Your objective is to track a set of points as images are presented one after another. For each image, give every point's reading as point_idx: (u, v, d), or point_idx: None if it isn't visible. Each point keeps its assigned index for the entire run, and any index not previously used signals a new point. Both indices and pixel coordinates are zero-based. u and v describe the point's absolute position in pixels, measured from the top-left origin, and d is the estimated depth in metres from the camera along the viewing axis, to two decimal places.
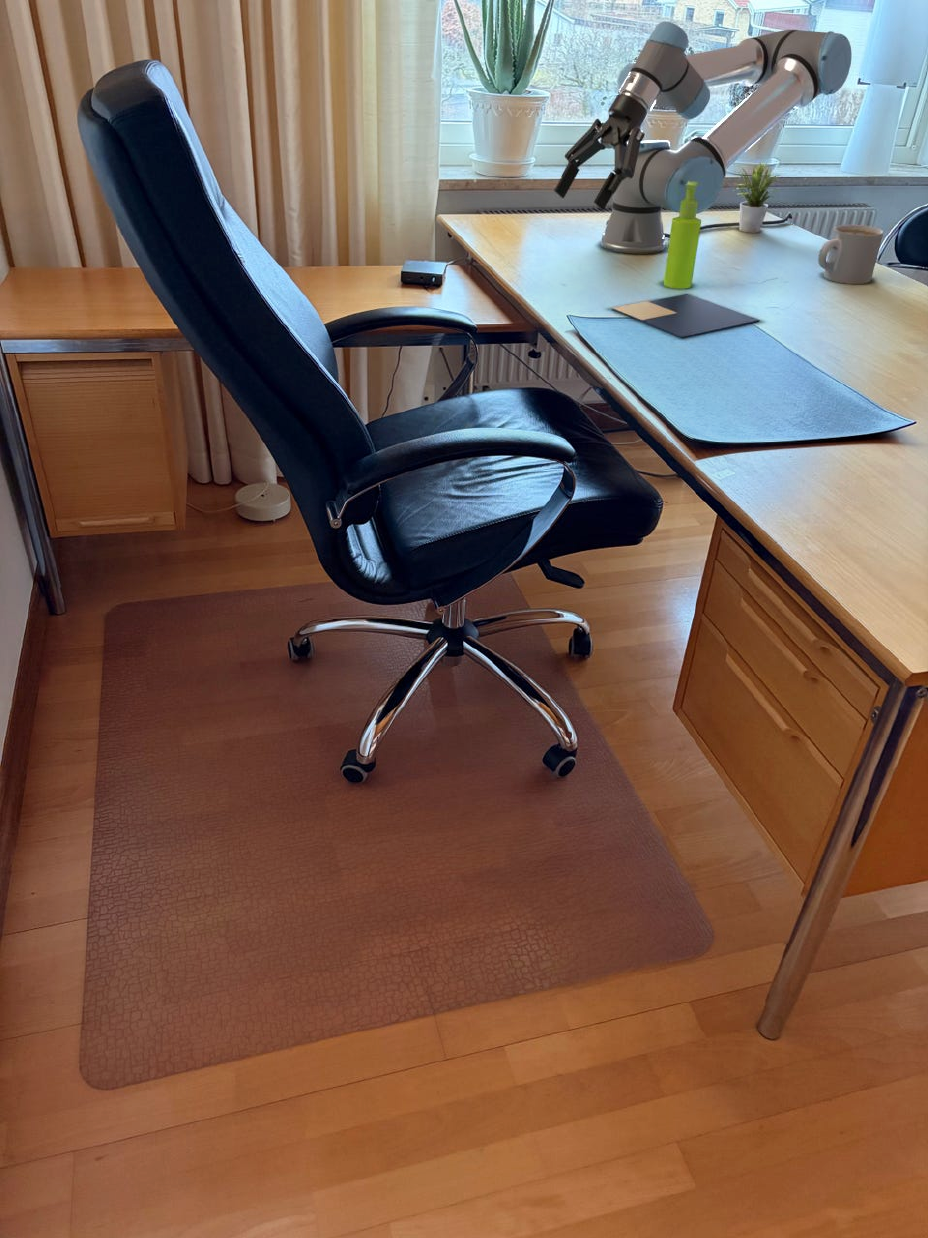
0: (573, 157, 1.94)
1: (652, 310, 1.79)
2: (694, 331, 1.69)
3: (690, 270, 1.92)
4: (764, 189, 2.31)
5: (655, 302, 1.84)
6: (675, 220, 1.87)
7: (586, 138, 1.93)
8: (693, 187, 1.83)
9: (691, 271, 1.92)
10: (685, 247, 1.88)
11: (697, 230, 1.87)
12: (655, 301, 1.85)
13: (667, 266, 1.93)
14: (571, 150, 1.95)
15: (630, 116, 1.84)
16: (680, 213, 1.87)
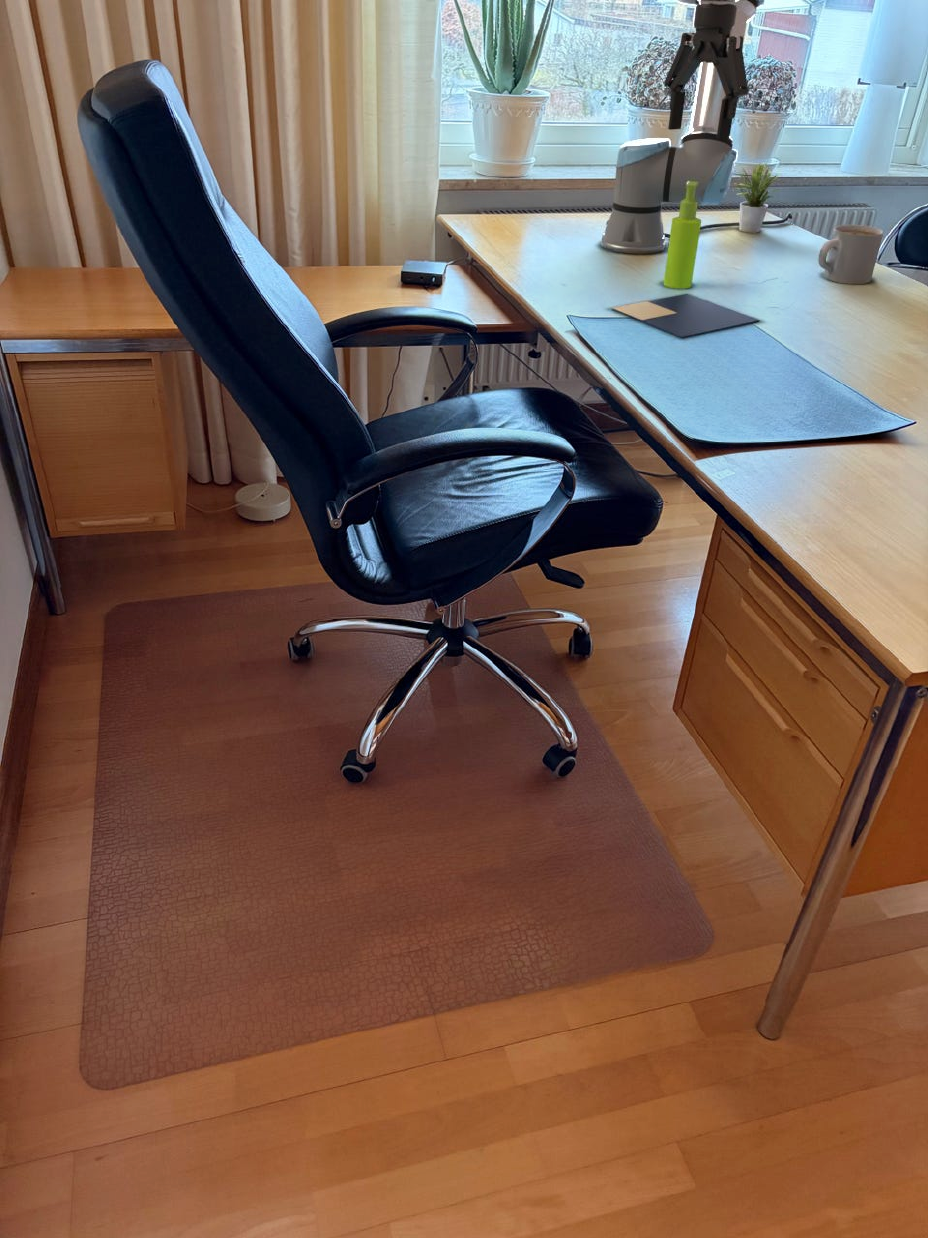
0: (674, 85, 1.79)
1: (652, 310, 1.79)
2: (694, 331, 1.69)
3: (690, 270, 1.92)
4: (764, 189, 2.31)
5: (655, 302, 1.84)
6: (675, 220, 1.87)
7: (680, 58, 1.77)
8: (693, 187, 1.83)
9: (691, 271, 1.92)
10: (685, 247, 1.88)
11: (697, 230, 1.87)
12: (655, 301, 1.85)
13: (667, 266, 1.93)
14: (668, 76, 1.80)
15: (720, 26, 1.66)
16: (680, 213, 1.87)
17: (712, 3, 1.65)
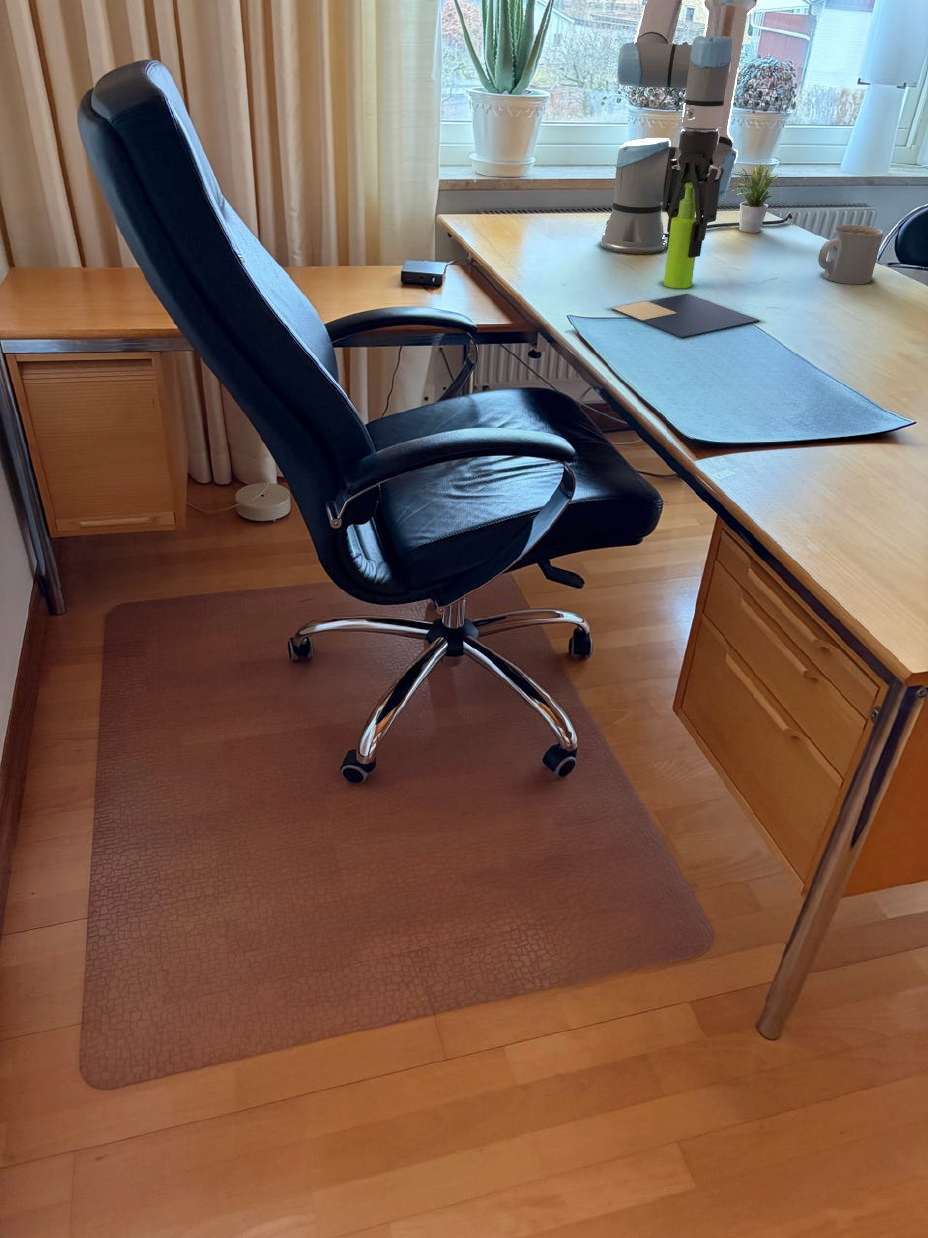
0: (671, 210, 1.90)
1: (652, 310, 1.79)
2: (694, 331, 1.69)
3: (690, 269, 1.92)
4: (764, 189, 2.31)
5: (655, 302, 1.84)
6: (674, 220, 1.87)
7: (671, 182, 1.88)
8: None
9: (691, 271, 1.92)
10: (684, 246, 1.88)
11: None
12: (655, 301, 1.85)
13: (667, 266, 1.93)
14: (664, 202, 1.91)
15: (703, 151, 1.78)
16: (679, 213, 1.87)
17: (696, 131, 1.77)
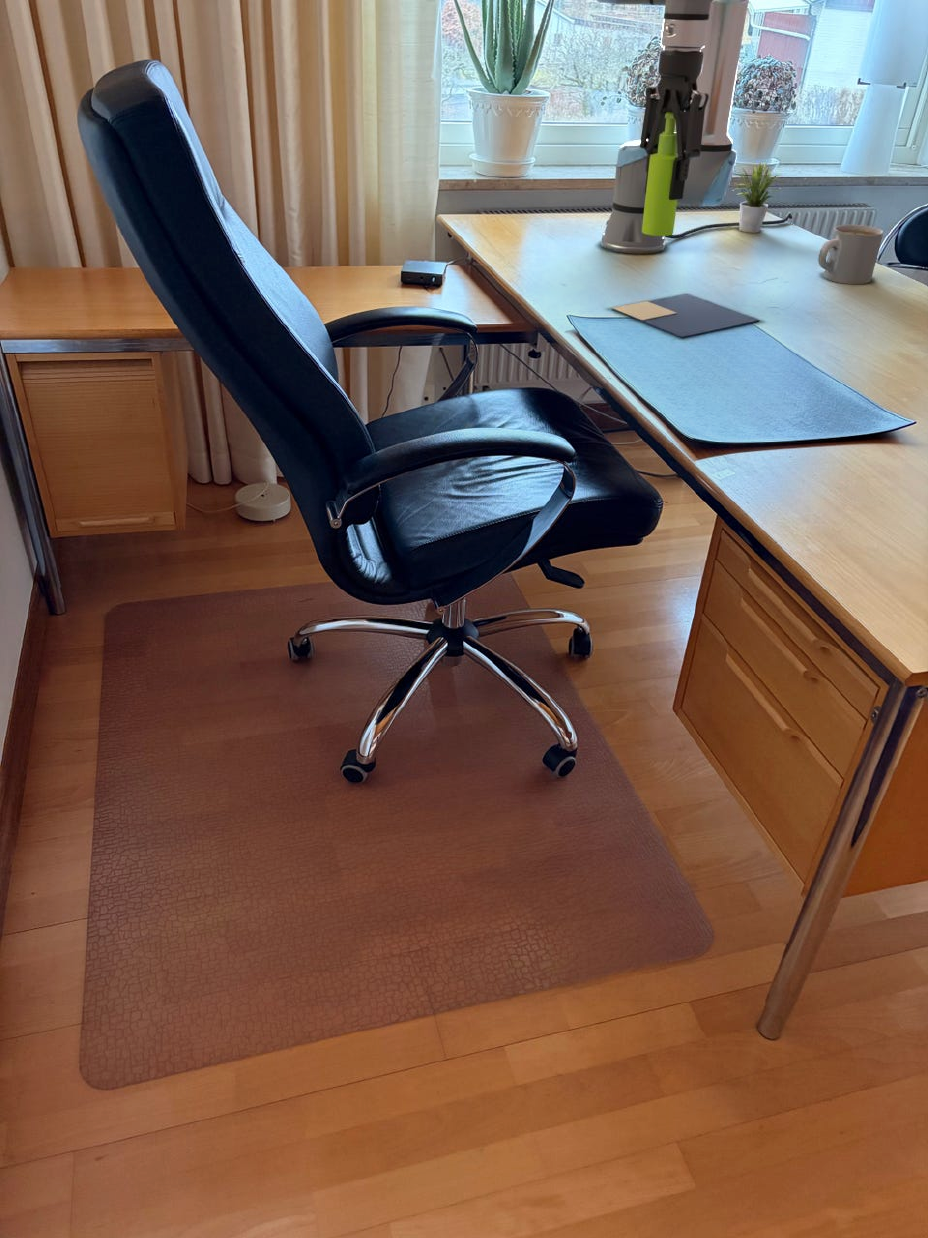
0: (650, 146, 1.67)
1: (652, 310, 1.79)
2: (694, 331, 1.69)
3: (671, 214, 1.69)
4: (764, 189, 2.31)
5: (655, 302, 1.84)
6: (653, 156, 1.65)
7: (650, 114, 1.65)
8: (673, 117, 1.61)
9: (672, 216, 1.70)
10: (664, 187, 1.66)
11: None
12: (655, 301, 1.85)
13: (645, 210, 1.70)
14: (643, 137, 1.68)
15: (686, 74, 1.55)
16: (659, 148, 1.65)
17: (677, 50, 1.54)
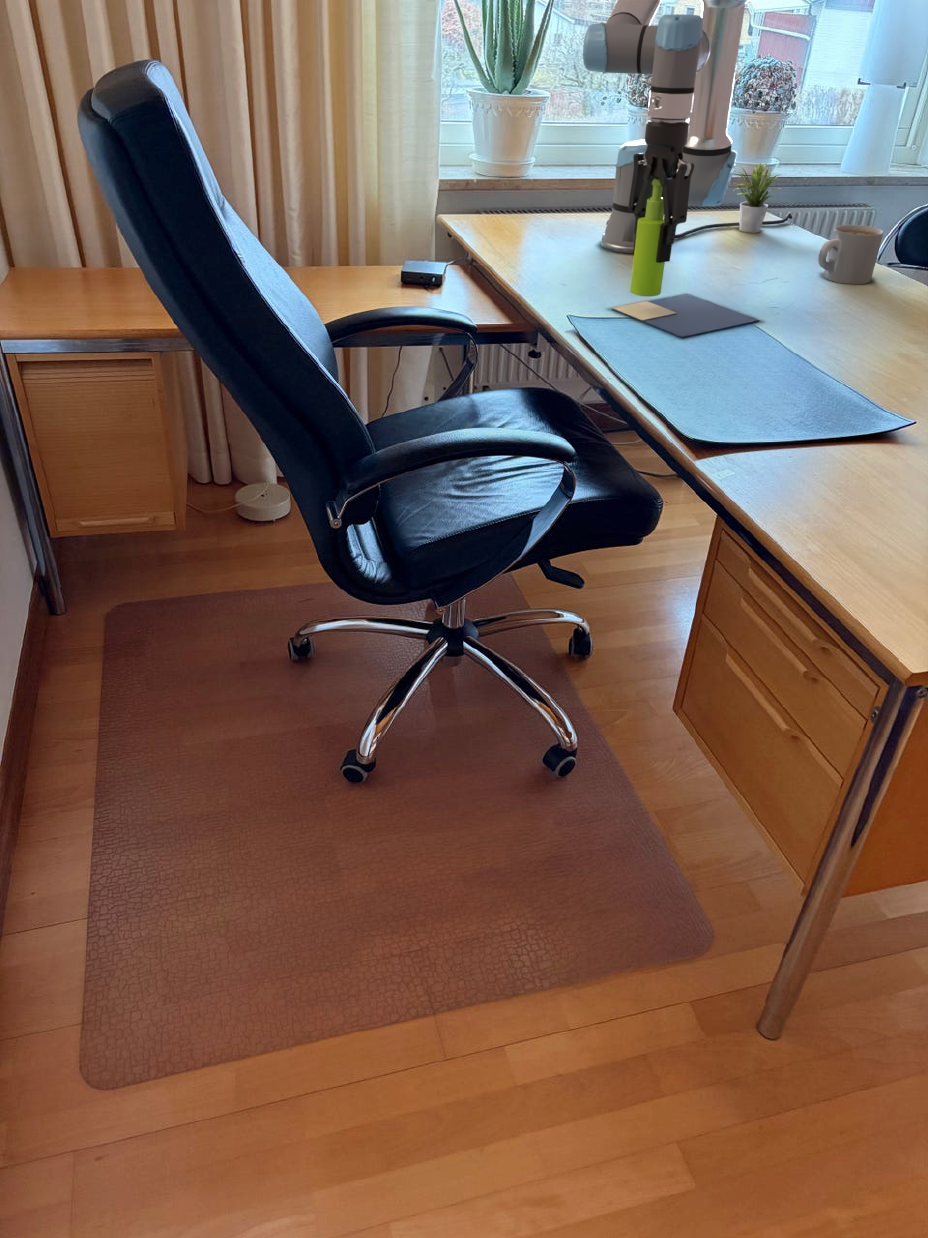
0: (638, 209, 1.71)
1: (652, 310, 1.79)
2: (694, 331, 1.69)
3: (659, 276, 1.73)
4: (764, 189, 2.31)
5: (655, 302, 1.84)
6: (641, 221, 1.69)
7: (638, 179, 1.69)
8: None
9: (660, 277, 1.74)
10: (652, 250, 1.70)
11: None
12: (655, 301, 1.85)
13: (633, 272, 1.74)
14: (631, 201, 1.72)
15: (672, 145, 1.59)
16: (646, 213, 1.68)
17: (663, 122, 1.58)
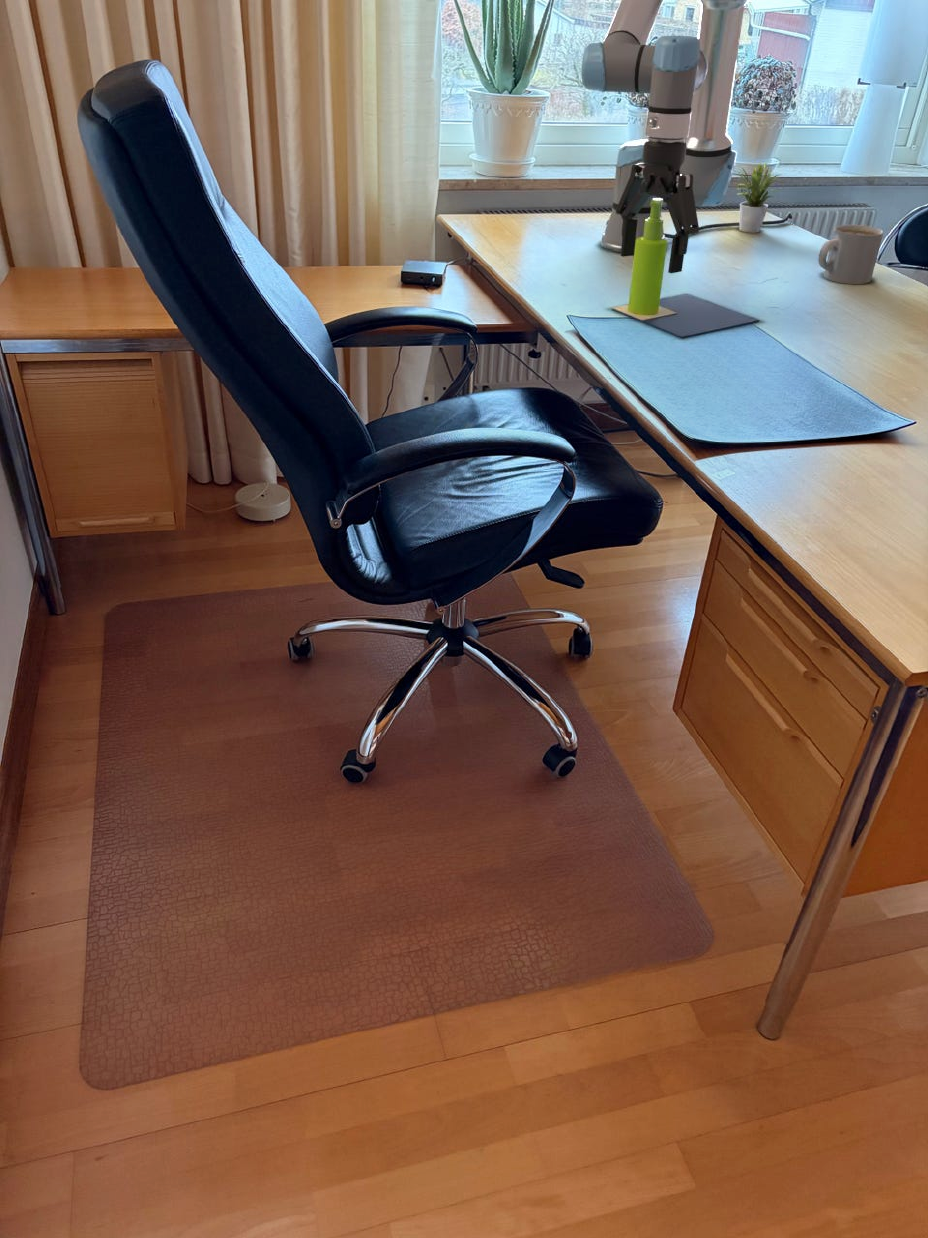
0: (626, 214, 1.74)
1: None
2: (694, 331, 1.69)
3: (656, 295, 1.75)
4: (764, 189, 2.31)
5: None
6: (639, 241, 1.71)
7: (631, 188, 1.71)
8: (658, 205, 1.67)
9: (657, 296, 1.76)
10: (650, 270, 1.72)
11: (663, 252, 1.71)
12: None
13: (631, 290, 1.76)
14: (620, 204, 1.75)
15: (669, 164, 1.61)
16: (644, 233, 1.71)
17: (660, 141, 1.60)
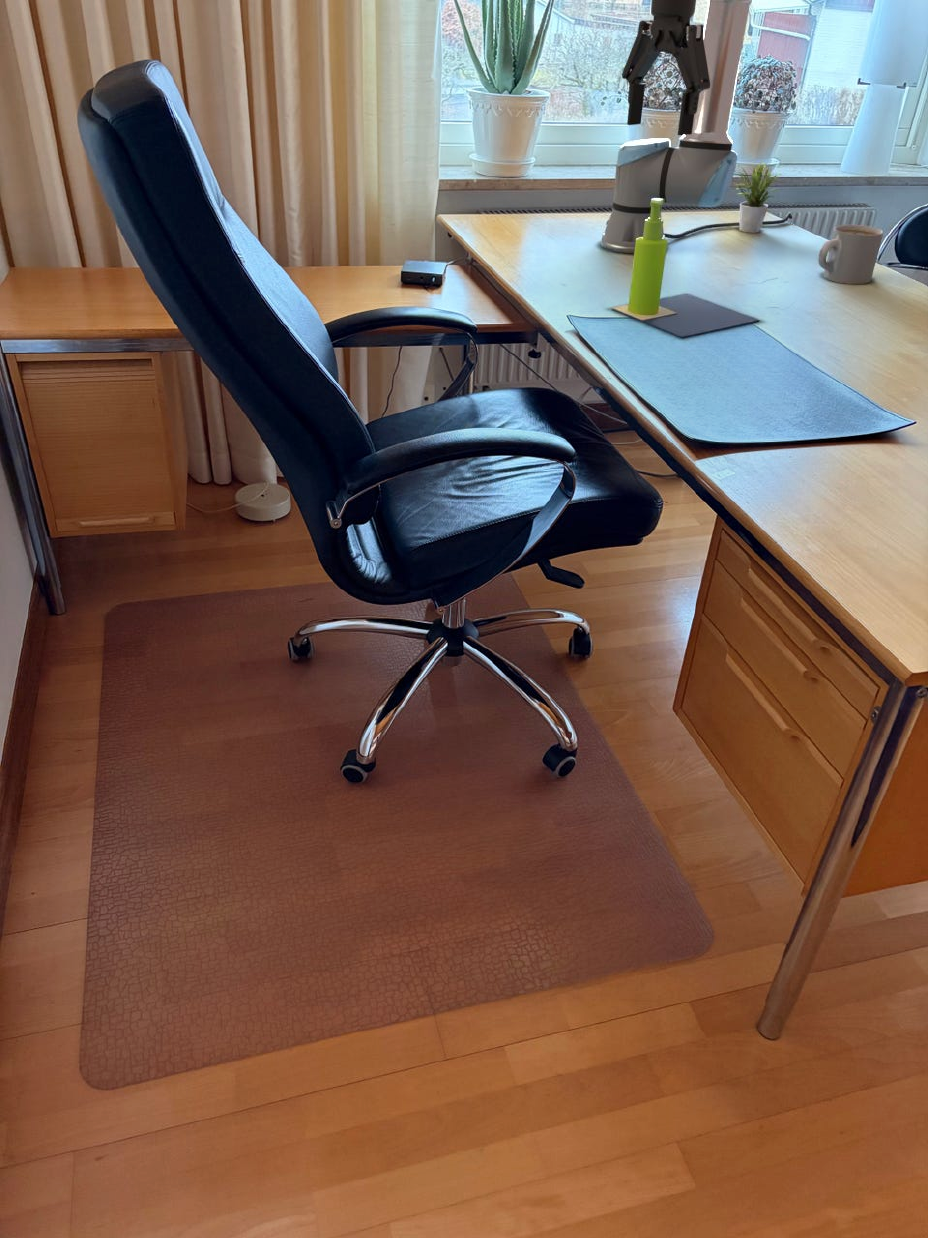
0: (632, 77, 1.67)
1: None
2: (694, 331, 1.69)
3: (656, 295, 1.75)
4: (764, 189, 2.31)
5: None
6: (639, 241, 1.71)
7: (638, 48, 1.64)
8: (658, 205, 1.67)
9: (657, 296, 1.76)
10: (650, 270, 1.72)
11: (663, 252, 1.71)
12: None
13: (631, 290, 1.76)
14: (626, 68, 1.68)
15: (679, 14, 1.54)
16: (644, 233, 1.71)
17: None
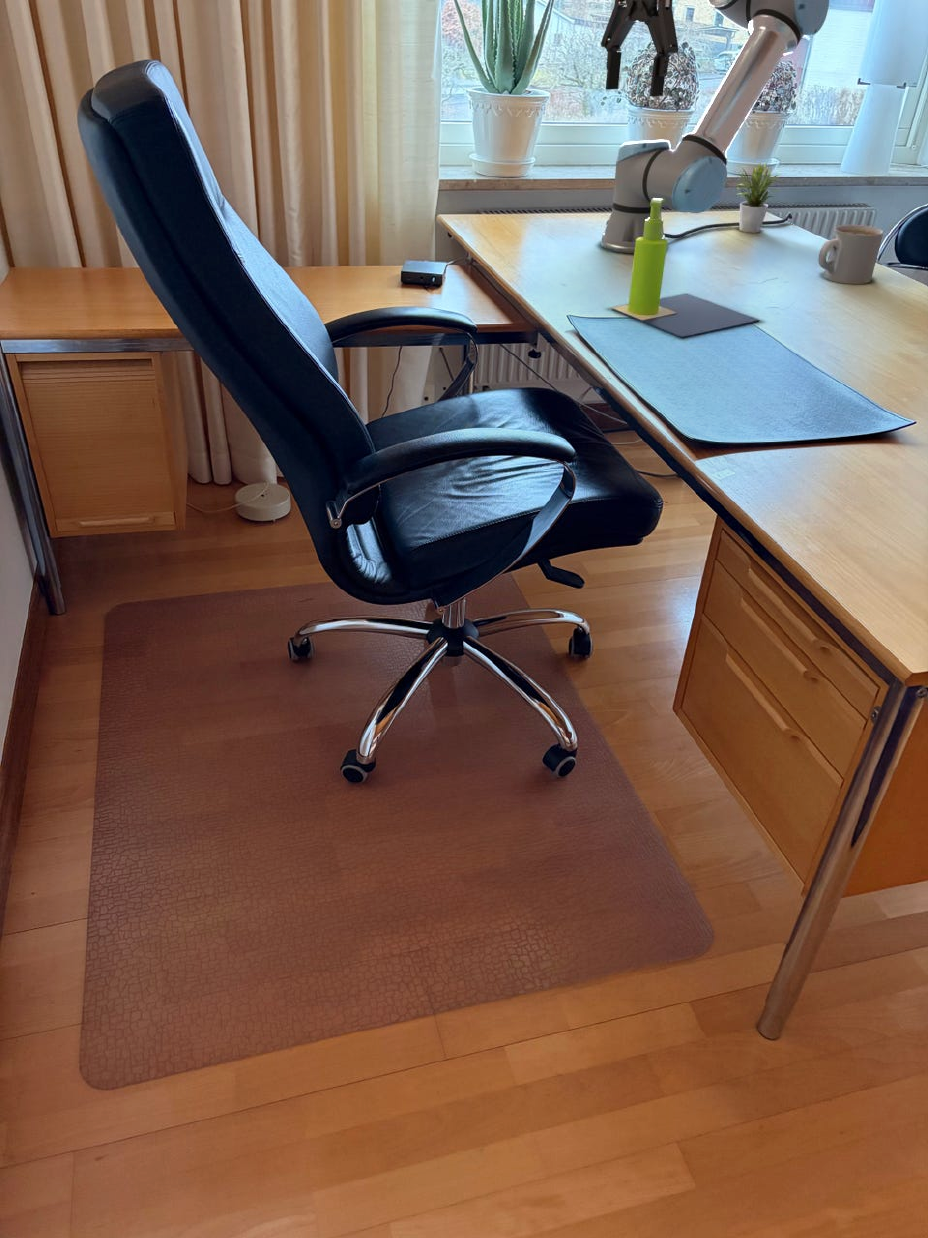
0: (610, 45, 1.84)
1: None
2: (694, 331, 1.69)
3: (656, 295, 1.75)
4: (764, 189, 2.31)
5: None
6: (639, 241, 1.71)
7: (615, 18, 1.81)
8: (658, 205, 1.67)
9: (657, 296, 1.76)
10: (650, 270, 1.72)
11: (663, 252, 1.71)
12: None
13: (631, 290, 1.76)
14: (604, 37, 1.85)
15: None
16: (644, 233, 1.71)
17: None
